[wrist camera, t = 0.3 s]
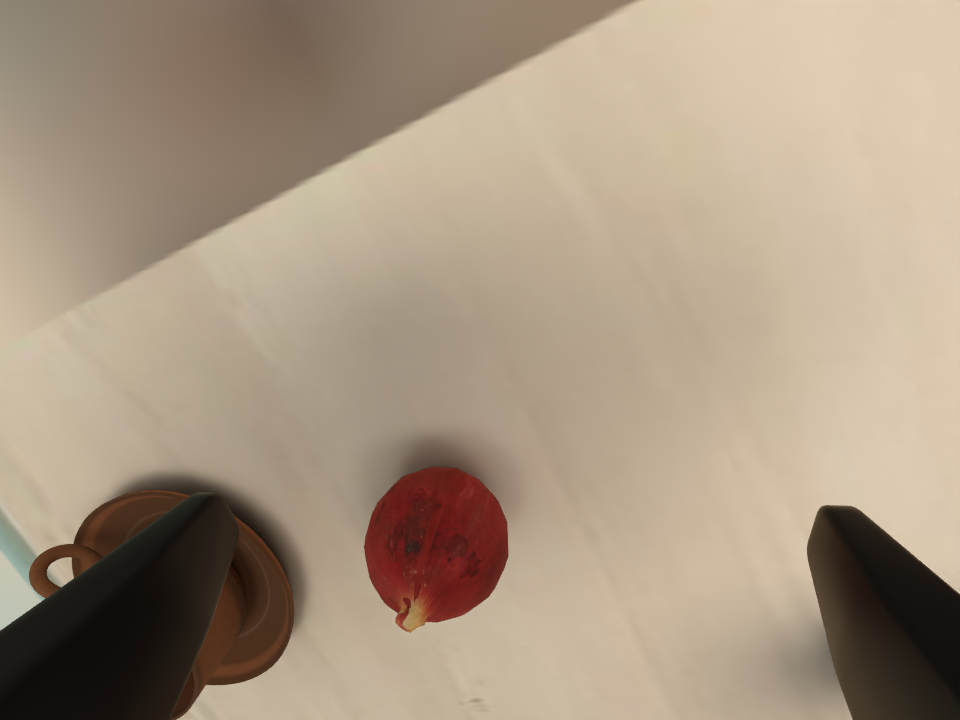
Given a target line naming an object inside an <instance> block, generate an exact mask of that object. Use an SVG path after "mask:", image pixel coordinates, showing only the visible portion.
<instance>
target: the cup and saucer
mask: <svg viewBox="0 0 960 720" xmlns="http://www.w3.org/2000/svg"><path fill="white" fill-rule="evenodd" d="M189 496H190V495H186V494H182V493H177V492H171V491H161V490H147V491H138V492H133V493H129V494H125V495H122V496H120V497H117V498H115V499H112V500H110V501H108V502H106V503H104V504H103V505H101V506H100V507H98V508H97V509H95V510H94V511H93V512H92V513H91V514H90V515H89V516H88V517H87V518H86V519H85V520H84V521H83V523H82V525H81V526H80V528H79V530H78V532H77V534H76V537H75V540H74V544H65V545H59V546H56V547H53V548H50V549H48V550H46V551H45V552H43V553H42V554H40V555H39V556H38V557H37V558H36V559H35V561H34V562H33V564H32V565H31V568H30V572H29V580H30V583H31V585H32V587H33V588H34V590H35V591H36V592H37V593H38V594H40V595H41V596H43V597H44V598H47V597H49V596H50V595H51V594H53V593H54V592H56V591H57V590H58V589H60V588H61V587H59V586H57V585H55V584H54V583H52V582H51V581H50V580H49V579H48V577H47V569H48V567H49V565H50V564H51V563H52V562H54V561H55V560H58V559H60V558H64V557H72V569H73V575H74V578H75V577H77V576H78V575H80V574H81V573H82V572H84V571H85V570H87V569H88V568H89V567H91V566H92V565H94V564H95V563H96V562H98V561H99V560H101V559H102V558H104V557H105V556H106V555H108V554H109V553H111V552H112V551H113V550H115V549H116V548H118V547H119V546H120V545H122V544H123V543H125V542H126V541H127V540H129V539H130V538H132V537H133V536H134V535H136V534H137V533H139V532H140V531H141V530H143V529H144V528H146V527H147V526H149V525H150V524H151V523H153V522H154V521H156V520H157V519H158V518H160V517H161V516H163V515H164V514H165V513H167V512H168V511H170V510H171V509H172V508H174V507H175V506H177V505H178V504H179V503H181V502H182V501H184V500H185V499H187V498H188V497H189ZM233 516H234V515H233ZM234 518H235V520H236V522H237V524H238V527H239V539H238V543H237V546H236V549H235V552H234V556H233V559H232V562H231V565H230V568H229V571H228V574H227V577H226V580H225V583H224V586H223V589H222V592H221V596H220V599H219V602H218V605H217V608H216V611H215V614H214V617H213V620H212V622H211V625H210V628H209V631H208V633H207V636H206V638H205V641H204V643H203V645H202V648H201V650H200V652H199V655H198V657H197V659H196V661H195V664H194V666H193V668H192V671H191V673H190V675H189V678H188V680H187V682H186V684H185V687H184V689H183V691H182V694H181V696H180V698H179V700H178V703H177V705H176V707H175V710H174V712H173V714H172V717H171V719H170V720H176V719H178V718H180V717H181V716H183V715H184V714H185V713H186V712H187V711H188V710H189V709H190V708H191V706H192V705H193V703H194V702H195V700H196V699H197V697H198V696H199V694H200V693H201V691H202V690H203V688H204V687H205V685H228V684H235V683H240V682H244V681H247V680H250V679H252V678H255V677H257V676H259V675H261V674H262V673H264V672H265V671H267V670H268V669H269V668H271V667H272V666H273V665H274V664H275V663H276V662H277V661H278V659H279V658H280V657H281V655H282V654H283V652H284V650H285V648H286V646H287V644H288V641H289V638H290V635H291V632H292V627H293V621H294V603H293V597H292V593H291V589H290V585H289V583H288V580H287V577H286V575H285V573H284V571H283V569H282V567H281V565H280V564H279V562H278V561H277V559H276V557H275V556H274V554H273V553H272V552H271V550H270V549H269V547H268V546H267V545H266V544H265V543H264V541H263V540H262V539H261V538H260V537H259V536H258V535H257V534H256V533H255V532H254V531H253V530H252V529H251V528H249V527H248V526H247V525H246V524H245V523H243V522H242V521H241V520H239V519H238V518H237V517H235V516H234Z"/></svg>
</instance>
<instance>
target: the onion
mask: <svg viewBox="0 0 960 720" xmlns="http://www.w3.org/2000/svg"><path fill="white" fill-rule="evenodd" d="M364 550H365V557H366V562H367V567H368V572H369V577H370V580H371V582H372V584H373V586H374V587H375V589H376V590H377V592H378V594H379V595H380V597H381V599H382V600H383V601H384V603H385V604H386V605H387V606H389V607H390V608H391V609H393V610H394V611H396V612H397V613H398V615H397V617H396V624H397V625H398V626H400V627H401V628H402V629H403V630H405V631H407V632H412V631H413V630H414V629H416V628H418V627H420V626H423V625H424V624H425V622H441V621H444V620H448V619H452V618H456V617H459V616H462V615H464V614H465V613H467V612H469V611H470V610H471V609H473V608H474V607H476V606H477V605H479V604H480V603H481V602H483V601H484V600H485V599H486V598H488V597H489V596H490V594H491V593H492V591H493V590H494V589H495V587H496V585H497V583H498V581H499V578H500V576H501V574H502V572H503V570H504V568H505V565H506V561H507V558H508V531H507V521H506V518H505V516H504V514H503V511H502V509H501V506H500V504H499V502H498V501H497V499H496V498H495V496H494V495H493V494H492V493H491V492H490V491H489V490H488V489H487V488H486V487H485V486H484V485H483V484H482V482H481V481H480V480H479V479H477V478H475V477H473V476H471V475H469V474H467V473H465V472H463V471H461V470H459V469H457V468H444V467H429V468H425V469H422V470H420V471H417V472H414V473H412V474H409V475H406V476H403V477H402V478H401V479H400V480H398V481H397V482H396V483H395V484H394V485H393V486H392V487H391V488H390V490H389V491H388V492H387V493H386V494H385V495H384V496H383V497H382V498H381V500H380V501H379V502H378V503H377V505H376V507H375V509H374V511H373V513H372V516H371V519H370V523H369V526H368V530H367V533H366V538H365V545H364Z"/></svg>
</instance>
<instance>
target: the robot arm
mask: <svg viewBox="0 0 960 720" xmlns="http://www.w3.org/2000/svg"><path fill="white" fill-rule="evenodd" d="M238 539H239V527H238V524H237V522H236V520H235V518H234V516H233V514H232V512H231V510H230V508H229V506H228V504H227V502H226V500H225V498H224V497H223V496H222V495H221V494H219V493H195V494H193V495H191V496H189V497H188V498H187V499H185V500H184V501H182V502H181V503H179V504H178V505H177V506H175V507H174V508H172V509H171V510H170V511H168V512H167V513H165V514H164V515H163V516H161V517H160V518H158V519H157V520H156V521H154V522H153V523H151V524H150V525H149V526H147V527H146V528H144V529H143V530H141V531H140V532H139V533H137V534H136V535H134V536H133V537H132V538H130V539H129V540H127V541H126V542H125V543H123V544H122V545H120V546H119V547H118V548H116V549H115V550H113V551H112V552H111V553H109V554H108V555H106V556H105V557H104V558H102V559H101V560H99V561H98V562H96V563H95V564H94V565H92V566H91V567H89V568H88V569H87V570H85V571H84V572H82V573H81V574H80V575H78V576H77V577H75V578H74V579H73V580H71V581H70V582H68V583H67V584H66V585H64V586H63V587H61V588H60V589H58V590H57V591H56V592H54V593H53V594H51V595H50V596H49V597H47V598H46V599H44V600H43V601H42V602H40V603H39V604H37V605H36V606H35V607H33V608H32V609H30V610H29V611H28V612H26V613H25V614H23V615H22V616H20V617H19V618H18V619H16V620H15V621H13V622H12V623H11V624H9V625H8V626H6V627H5V628H4V629H2V630H1V631H0V720H170V719H171V717H172V714H173V712H174V710H175V707H176V705H177V703H178V700H179V698H180V696H181V694H182V691H183V689H184V687H185V684H186V682H187V680H188V678H189V675H190V673H191V671H192V668H193V666H194V664H195V661H196V659H197V657H198V655H199V652H200V650H201V648H202V645H203V643H204V641H205V638H206V636H207V633H208V631H209V628H210V625H211V622H212V620H213V617H214V614H215V611H216V608H217V605H218V602H219V599H220V596H221V592H222V589H223V586H224V583H225V580H226V577H227V574H228V571H229V568H230V565H231V562H232V559H233V556H234V552H235V549H236V546H237V543H238ZM807 556H808V562H809V566H810V570H811V574H812V578H813V583H814V587H815V591H816V595H817V599H818V603H819V607H820V611H821V615H822V619H823V624H824V628H825V632H826V636H827V640H828V644H829V648H830V652H831V656H832V660H833V663H834V667H835V671H836V674H837V677H838V680H839V683H840V686H841V688H842V691H843V694H844V697H845V700H846V702H847V705H848V708H849V710H850V713H851V716H852V719H853V720H960V594H959V593H958V592H956V591H955V590H954V589H953V588H952V587H950V586H949V585H948V584H947V583H946V582H944V581H943V580H942V579H941V578H940V577H939V576H937V575H936V574H935V573H934V572H933V571H931V570H930V569H929V568H928V567H927V566H925V565H924V564H923V563H922V562H921V561H920V560H918V559H917V558H916V557H915V556H914V555H912V554H911V553H910V552H909V551H908V550H906V549H905V548H904V547H903V546H902V545H901V544H899V543H898V542H897V541H896V540H895V539H893V538H892V537H891V536H890V535H889V534H887V533H886V532H885V531H884V530H883V529H882V528H880V527H879V526H878V525H877V524H876V523H874V522H873V521H872V520H871V519H870V518H868V517H867V516H866V515H865V514H864V513H863V512H861V511H860V510H859V509H857V508H855V507H852V506H834V505H825V506H822V507H821V508H820V509H819V510H818V512H817V515H816V518H815V521H814V524H813V528H812V531H811V534H810V537H809V540H808V545H807Z"/></svg>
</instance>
